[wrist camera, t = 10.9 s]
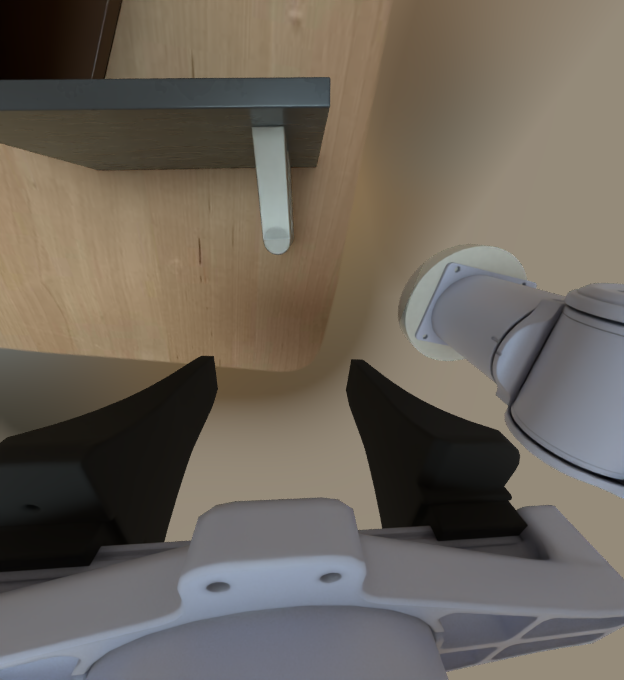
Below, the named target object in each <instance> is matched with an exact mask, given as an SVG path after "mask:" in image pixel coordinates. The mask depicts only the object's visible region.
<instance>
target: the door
mask: <svg viewBox="0 0 624 680" xmlns="http://www.w3.org/2000/svg"><path fill="white" fill-rule="evenodd" d="M329 108H330V78H329V77H295V78H167V79H40V80H0V143H1V144H5V145H9V146H12V147H16V148H19V149H23V150H27V151H30V152H34V153H38V154H41V155H45V156H48V157H52V158H56V159H59V160H63V161H66V162H70V163H74V164H77V165H81V166H85V167H88V168H92V169H95V170H138V169H199V168H256V175H257V185H258V194H259V204H260V214H261V223H262V233H263V242H264V245H265V247H266V249H267V250H268V251H269V252H270V253H272V254H275V255H280V254H283V253H285V252H286V251H287V250H288V249H289V247H290V246H291V244H292V243H293V240H294V228H293V208H292V187H291V167H316V166H317V162H318V158H319V153H320V149H321V144H322V139H323V135H324V130H325V126H326V121H327V117H328V112H329Z"/></svg>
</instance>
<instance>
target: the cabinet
mask: <svg viewBox="0 0 624 680" xmlns="http://www.w3.org/2000/svg"><path fill="white" fill-rule="evenodd" d="M120 4H121V0H0V80H40V79H104V75H105V71H106V66H107V62H108V58H109V53H110V49H111V44H112V40H113V35H114V31H115V26H116V22H117V17H118V13H119V8H120Z"/></svg>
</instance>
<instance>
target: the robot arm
mask: <svg viewBox="0 0 624 680" xmlns="http://www.w3.org/2000/svg"><path fill="white" fill-rule="evenodd" d="M456 267H458V270H457V271H455V268H456ZM521 284H522V285H521ZM536 287H537V285H536V283H535V282H530V281H527V280H523V279H519V278H515V277H511V276H506V275H502V274H498V273H494V272H490V271H486V270H482V269H478V268H474V267H470V266H466V265H462V264H458V263H454V262H450V263H448V264H447V265H446V267H445V269H444V271H443V274H442V276H441V278H440V280H439V282H438V285H437V287H436V289H435V291H434V293H433V296H432V298H431V300H430V302H429V304H428V307H427V309H426V311H425V313H424V315H423V318H422V320H421V322H420V324H419V326H418V329H417V331H416V333H415V337H416V339H418V340H422V341H427V342H432V343H437V344H442V345H447V346H450V347H452V348H453V349H454V350H455V351H457V352H458V353H459V354H460V355H461V356H463V357H464V358H465V359H467V360H468V361H469V362H470V363H471V364H473V365H474V366H475V367H476V368H478V369H479V370H480V371H481V372H482V373H484V374H485V375H486V376H487V377H489V378H490V379H491V380H492V381H494V382H495V383H496V384H497V387H498V388H497V392H496V396H498V397H499V398H500V399H501V400H502V401H503V402H504V403H506V404H507V405H508V408H507V410H506V412H505V422H506V425H507V427H508V428H509V430H510V431H511V433H512V434H513V435H514V437H515V438H516V439H517V440H518V441H519V442H520V443H521V444H522V445H523V446H524V447H525V448H526V449H527V450H529V451H530V452H531V453H532V454H533V455H535V456H536V457H537V458H539V459H540V460H542V461H543V462H544V463H546V464H548V465H549V466H551V467H553V468H554V469H556V470H558V471H560V472H562V473H564V474H566V475H568V476H570V477H573V478H575V479H577V480H580V481H583V482H586V483H589V484H591V485H594V486H596V487H599V488H601V489H603V490H606V491H608V492H610V493H612V494H614V495H616V496H618V497H621V498H623V499H624V284H614V283H593V284H589V285H586V286H585V287H581V288H579V289H574V290H572V291H570V292H569V293H568V294H567V296H562V295H559V294H555V293H551V292H547V291H543V290H540V289H536ZM424 335H426V336H425V337H423V336H424ZM217 390H218V387H217V379H216V370H215V362H214V356H200V357H198V358H197V359H195V360H193V361H192V362H190V363H189V364H187V365H185V366H184V367H182V368H181V369H179V370H177V371H176V372H175V373H173V374H171V375H170V376H168V377H166V378H164V379H163V380H161V381H159V382H157V383H155V384H154V385H152V386H150V387H148V388H146V389H144V390H142V391H140V392H138V393H136V394H134V395H132V396H130V397H128V398H126V399H123V400H121V401H119V402H116V403H113V404H111V405H108V406H106V407H104V408H101V409H99V410H96V411H93V412H91V413H87V414H85V415H82V416H79V417H76V418H73V419H70V420H67V421H64V422H60V423H57V424H54V425H51V426H47V427H43V428H40V429H36V430H33V431H29V432H25V433H22V434H18V435H15V436H10V437H7V438H6V439H5V440H3V441H2V442H1V443H0V680H448V677H447V674H446V672H449V671H453V670H458V669H462V668H467V667H471V666H476V665H481V664H485V663H489V662H494V661H498V660H503V659H508V658H513V657H517V656H522V655H527V654H532V653H537V652H542V651H548V650H553V649H559V648H565V647H571V646H578V645H584V644H591V643H594V642H596V641H598V640H600V639H602V638H603V637H605V636H607V635H609V634H611V633H613V632H614V631H616V630H618V629H620V628H622V627H624V579H623V578H622V577H621V576H620V575H619V574H618V573H617V571H615V569H614V568H613V567H612V566H611V565H610V564H609V563H608V562H607V561H606V560H605V559H604V558H603V557H602V556H601V555H600V554H599V553H598V551H597V550H596V549H595V548H594V547H593V546H592V545H591V544H590V543H589V542H588V541H587V540H586V539H585V538H584V537H583V536H582V535H581V534H580V533H579V531H578V530H577V529H576V528H575V527H574V526H573V525H572V524H571V523H570V522H569V521H568V520H567V519H566V518H565V517H564V516H563V515H562V514H561V512H560V511H559V510H558V509H557V508H556V507H555V506H552V505H541V506H526V507H522V508H520V509H517V510H515V508H514V507H513V506H512V505H511V504H510V502H509V501H508V500H511V499H512V496H511V494H510V493H509V492H508V491H507V489H506V488H505V487H504V486H505V484H506V483H507V482H508V480H509V479H510V477H511V476H512V474H513V473H514V471H515V470H516V468H517V466H518V465H519V459H520V454H519V451H518V449H517V448H516V447H515V446H514V445H513V444H512V443H511V442H510V441H509V440H508V439H507V438H506V437H505V436H504V435H503V434H501V432H499V431H498V430H495V429H492V428H489V427H486V426H483V425H480V424H477V423H474V422H471V421H468V420H465V419H463V418H460V417H457V416H455V415H452V414H450V413H448V412H445V411H443V410H441V409H439V408H437V407H434V406H432V405H430V404H428V403H426V402H424V401H422V400H421V399H419V398H417V397H415V396H413V395H412V394H410V393H408V392H407V391H405V390H403V389H402V388H400V387H399V386H397V385H396V384H394V383H393V382H392V381H390V380H389V379H388V378H386V377H384V376H383V375H382V374H381V373H379V372H378V371H377V370H376V369H374V368H373V367H371V365H369V364H368V363H367V362H365V361H364V360H353V359H352V360H351V365H350V371H349V376H348V382H347V387H346V392H347V397H348V402H349V406H350V409H351V411H352V414H353V417H354V420H355V423H356V425H357V428H358V431H359V434H360V436H361V439H362V442H363V445H364V448H365V451H366V455H367V459H368V463H369V467H370V471H371V476H372V480H373V485H374V489H375V494H376V499H377V503H378V508H379V513H380V518H381V524H382V529H369V530H358V529H357V525H356V520H355V516H354V511H353V509H352V508H350V507H349V506H348V505H346V504H344V503H343V502H341V501H340V500H338V499H330V498H302V499H301V498H300V499H278V500H256V501H235V502H229V503H225V504H220V505H216V506H214V507H213V508H211V509H210V510H208V511H207V512H205V513H204V514H202V515H201V516H200V517H199V518H198V521H197V524H196V527H195V530H194V533H193V537H192V540H191V541H177V542H164V541H165V537H166V533H167V529H168V525H169V522H170V519H171V515H172V512H173V509H174V505H175V502H176V498H177V495H178V492H179V489H180V486H181V482H182V479H183V476H184V473H185V470H186V467H187V464H188V461H189V458H190V456H191V453H192V450H193V448H194V446H195V443H196V441H197V439H198V437H199V434H200V432H201V430H202V428H203V426H204V424H205V422H206V420H207V417H208V415H209V413H210V411H211V409H212V406H213V403H214V400H215V397H216V393H217Z"/></svg>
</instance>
